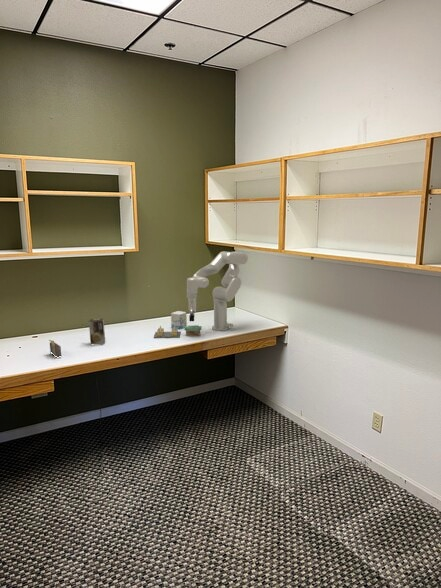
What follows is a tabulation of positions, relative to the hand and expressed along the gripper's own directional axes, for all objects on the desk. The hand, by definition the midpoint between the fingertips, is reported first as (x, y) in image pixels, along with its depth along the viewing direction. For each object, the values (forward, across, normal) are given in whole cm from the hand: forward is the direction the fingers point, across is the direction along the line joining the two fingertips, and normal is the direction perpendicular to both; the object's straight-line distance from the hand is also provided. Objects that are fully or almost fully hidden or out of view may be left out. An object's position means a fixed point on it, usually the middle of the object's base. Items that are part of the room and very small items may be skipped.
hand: (191, 319), depth 297 cm
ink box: (+12, +21, +10) cm, 26 cm away
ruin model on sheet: (+15, -37, +82) cm, 91 cm away
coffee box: (+14, -14, +62) cm, 65 cm away
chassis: (+12, +1, +17) cm, 21 cm away
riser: (+12, +1, -1) cm, 12 cm away
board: (+7, +1, -1) cm, 8 cm away
